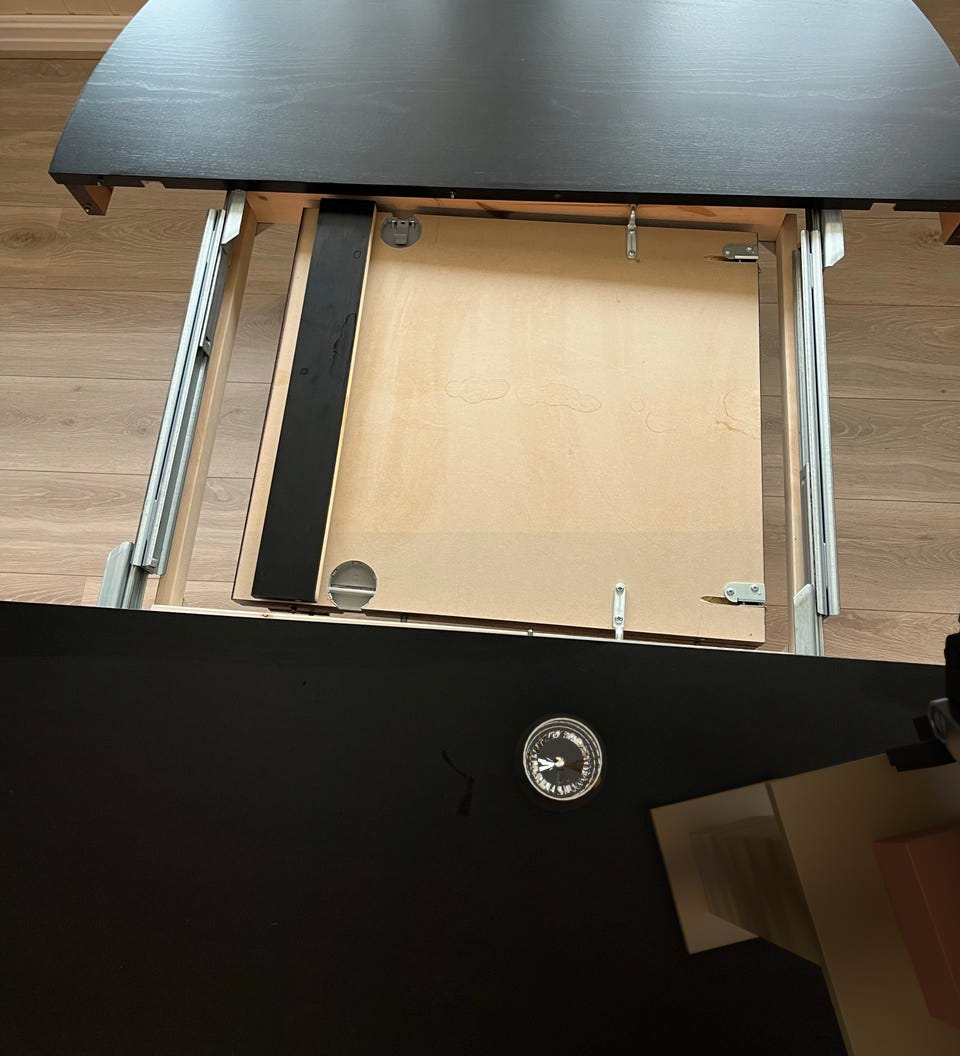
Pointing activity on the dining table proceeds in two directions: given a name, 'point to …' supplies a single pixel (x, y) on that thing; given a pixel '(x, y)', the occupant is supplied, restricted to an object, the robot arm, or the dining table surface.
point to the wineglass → (560, 762)
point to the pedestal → (815, 886)
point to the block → (928, 909)
